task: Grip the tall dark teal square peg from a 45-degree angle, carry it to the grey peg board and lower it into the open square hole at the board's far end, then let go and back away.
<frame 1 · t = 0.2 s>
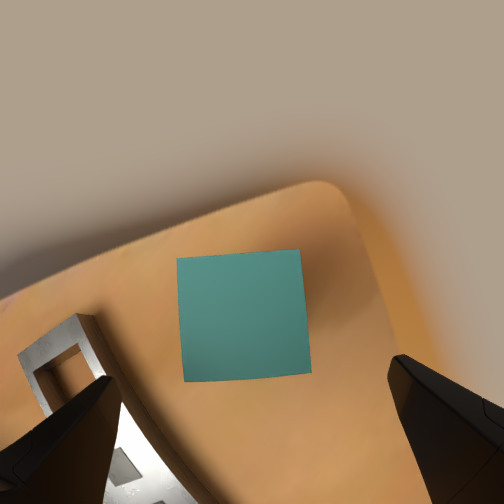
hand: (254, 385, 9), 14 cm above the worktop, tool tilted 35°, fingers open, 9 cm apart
grey peg board: (120, 440, 20), on the worktop
teal peg: (246, 322, 23), on the worktop
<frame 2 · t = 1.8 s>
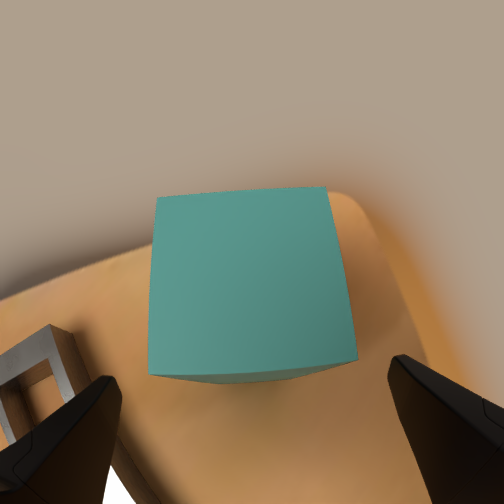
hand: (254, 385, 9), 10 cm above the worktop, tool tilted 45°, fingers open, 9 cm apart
grey peg board: (94, 482, 14), on the worktop
teal peg: (251, 347, 19), on the worktop
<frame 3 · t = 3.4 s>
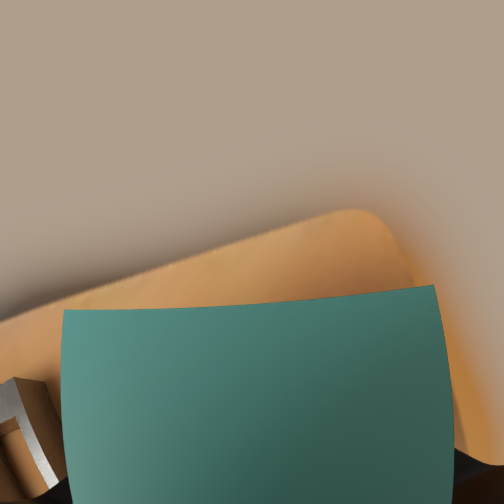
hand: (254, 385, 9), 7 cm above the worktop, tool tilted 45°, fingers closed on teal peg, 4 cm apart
teal peg: (256, 410, 14), on the worktop, touching gripper
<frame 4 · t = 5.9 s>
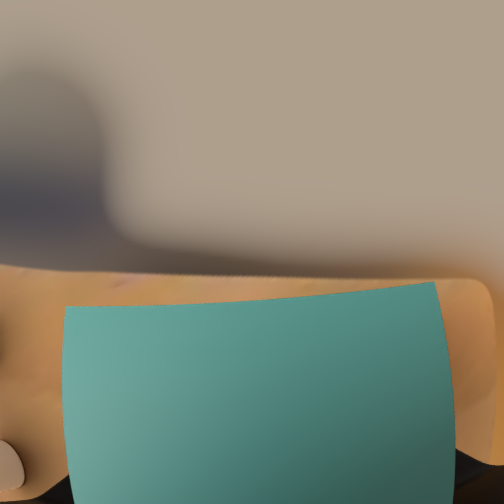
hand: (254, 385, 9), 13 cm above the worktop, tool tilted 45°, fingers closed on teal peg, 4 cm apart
drinking glass: (10, 463, 16), on the worktop
teal peg: (256, 409, 14), point 7 cm above the worktop, touching gripper
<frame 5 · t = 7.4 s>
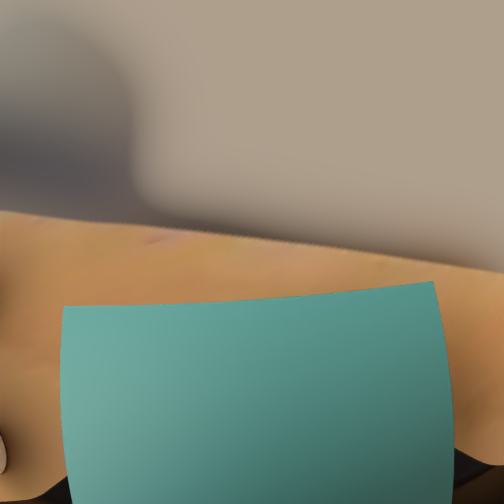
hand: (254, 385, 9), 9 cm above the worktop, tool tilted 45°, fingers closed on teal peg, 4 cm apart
teal peg: (256, 409, 14), point 2 cm above the worktop, touching gripper
when the fingers open (8 cm above the worktop, at t = 8.4 s): teal peg drops 1 cm, resting in grey peg board.
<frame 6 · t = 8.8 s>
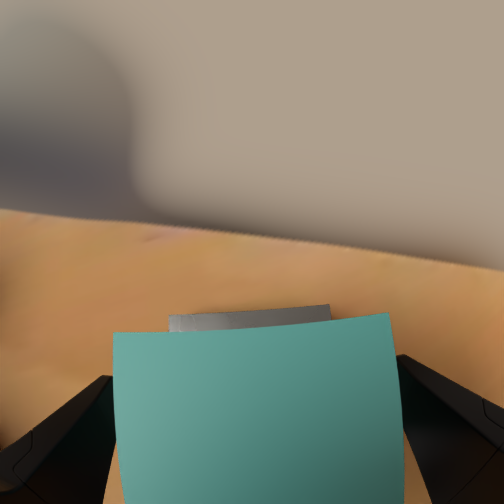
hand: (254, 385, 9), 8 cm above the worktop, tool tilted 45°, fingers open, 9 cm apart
grey peg board: (262, 493, 13), on the worktop
teal peg: (256, 407, 15), resting in grey peg board
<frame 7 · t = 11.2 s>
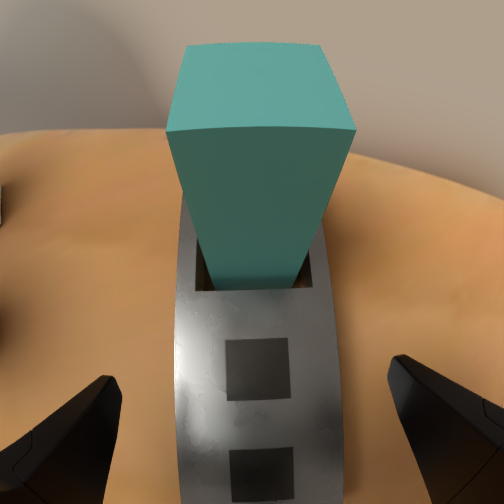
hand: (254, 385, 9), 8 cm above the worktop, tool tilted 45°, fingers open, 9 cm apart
grey peg board: (254, 345, 17), on the worktop
teal peg: (251, 257, 19), resting in grey peg board
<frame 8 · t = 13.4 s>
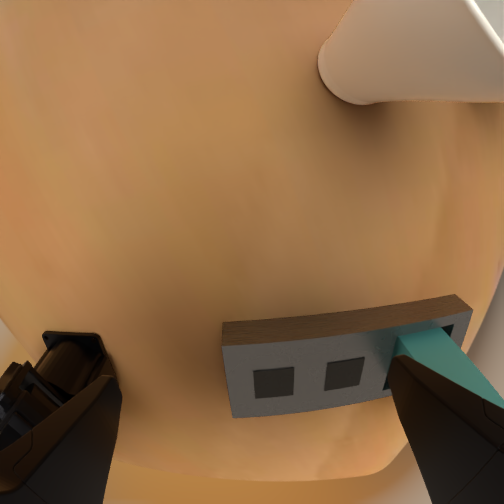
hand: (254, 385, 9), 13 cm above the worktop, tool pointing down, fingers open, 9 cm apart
grey peg board: (350, 349, 24), on the worktop
drinking glass: (352, 70, 17), on the worktop
teal peg: (404, 339, 25), resting in grey peg board
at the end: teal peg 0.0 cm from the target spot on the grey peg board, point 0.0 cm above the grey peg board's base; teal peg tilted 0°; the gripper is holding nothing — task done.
